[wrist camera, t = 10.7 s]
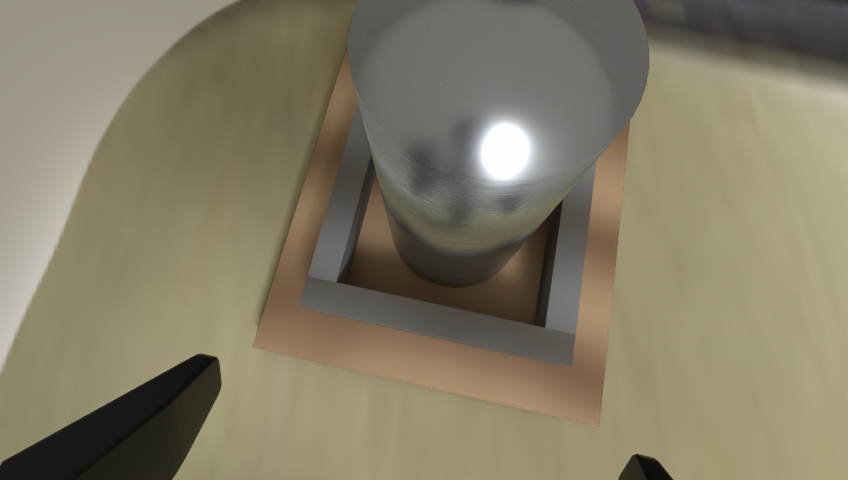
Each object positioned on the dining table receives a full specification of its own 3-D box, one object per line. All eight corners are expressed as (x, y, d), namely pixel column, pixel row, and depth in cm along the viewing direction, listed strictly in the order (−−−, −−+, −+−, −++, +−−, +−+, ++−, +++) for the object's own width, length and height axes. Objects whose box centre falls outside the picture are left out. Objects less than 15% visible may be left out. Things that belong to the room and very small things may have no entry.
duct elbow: (508, 300, 19) (642, 205, 7) (377, 271, 20) (308, 139, 8) (539, 107, 22) (675, -188, 10) (424, 85, 22) (424, -225, 10)
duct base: (590, 422, 19) (620, 434, 16) (260, 347, 20) (232, 345, 17) (627, 75, 24) (655, 35, 21) (360, 26, 24) (351, -19, 21)
